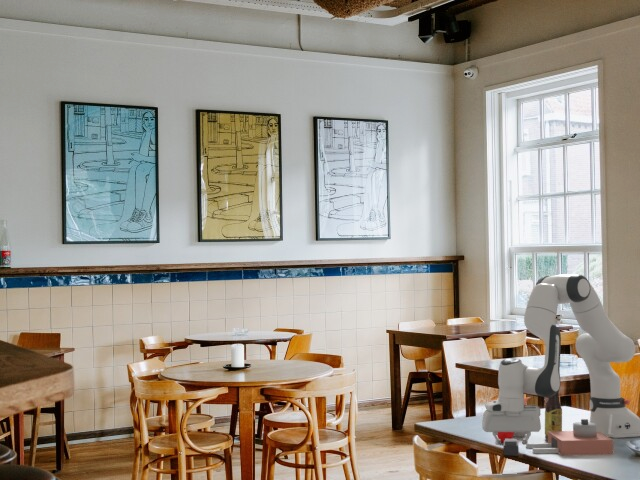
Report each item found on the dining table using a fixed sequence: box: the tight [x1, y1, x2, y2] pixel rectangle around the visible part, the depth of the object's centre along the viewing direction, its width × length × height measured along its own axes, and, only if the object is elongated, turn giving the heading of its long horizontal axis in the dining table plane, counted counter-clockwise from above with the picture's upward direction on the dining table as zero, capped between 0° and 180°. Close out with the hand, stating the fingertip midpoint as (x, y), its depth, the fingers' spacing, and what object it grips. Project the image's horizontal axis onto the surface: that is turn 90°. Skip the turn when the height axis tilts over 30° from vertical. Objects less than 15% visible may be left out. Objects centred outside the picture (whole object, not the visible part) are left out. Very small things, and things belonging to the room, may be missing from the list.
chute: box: [502, 438, 520, 456], centre depth 289 cm, size 9×5×5 cm, turn 166°
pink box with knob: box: [525, 418, 614, 456], centre depth 292 cm, size 27×16×11 cm, turn 92°
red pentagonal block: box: [496, 432, 514, 444], centre depth 307 cm, size 7×7×8 cm
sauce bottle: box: [544, 390, 563, 441], centre depth 310 cm, size 7×6×20 cm
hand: (511, 444), depth 289 cm, fingers open, 8 cm apart
